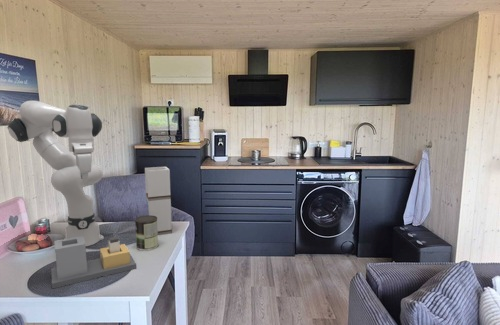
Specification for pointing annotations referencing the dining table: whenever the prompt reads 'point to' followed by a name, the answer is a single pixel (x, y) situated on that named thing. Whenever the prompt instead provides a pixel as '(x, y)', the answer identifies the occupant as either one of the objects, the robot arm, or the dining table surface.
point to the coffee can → (146, 232)
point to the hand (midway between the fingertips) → (84, 180)
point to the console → (86, 262)
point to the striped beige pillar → (159, 197)
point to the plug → (114, 245)
